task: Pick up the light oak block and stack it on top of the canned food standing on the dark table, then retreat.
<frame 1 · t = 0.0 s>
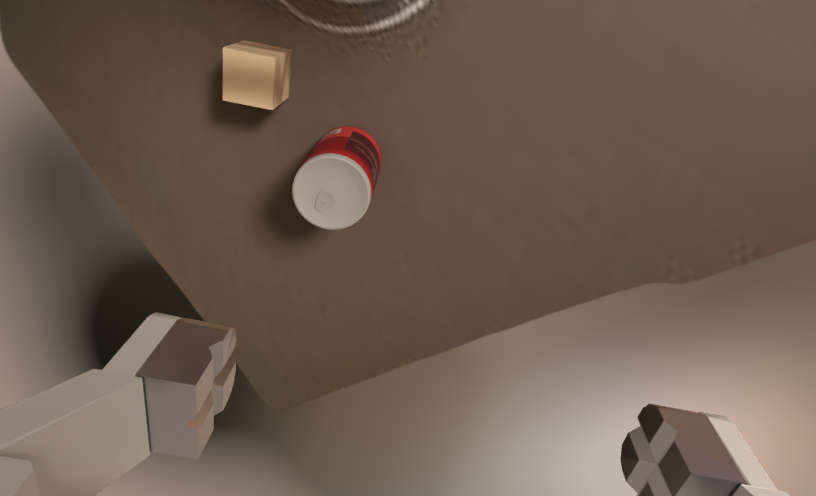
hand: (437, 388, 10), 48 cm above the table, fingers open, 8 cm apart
oak block: (267, 69, 54), on the table
canned food: (349, 157, 58), on the table
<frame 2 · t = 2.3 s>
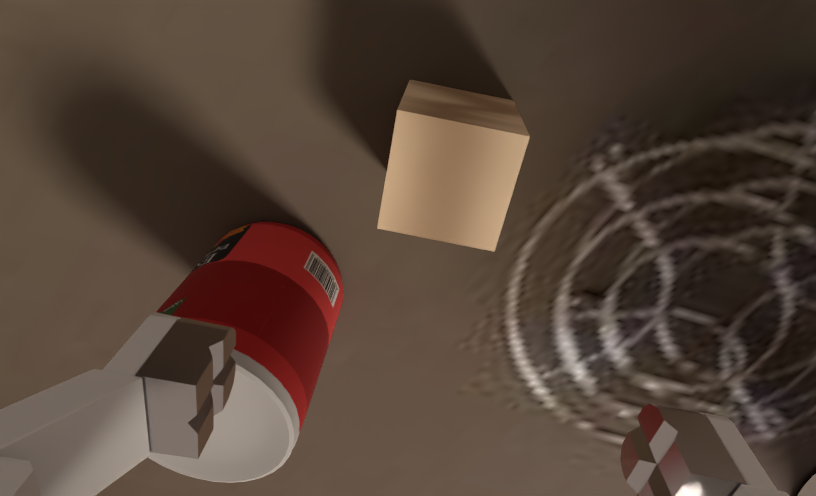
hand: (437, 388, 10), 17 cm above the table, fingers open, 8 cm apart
oak block: (450, 140, 25), on the table
canned food: (281, 274, 30), on the table
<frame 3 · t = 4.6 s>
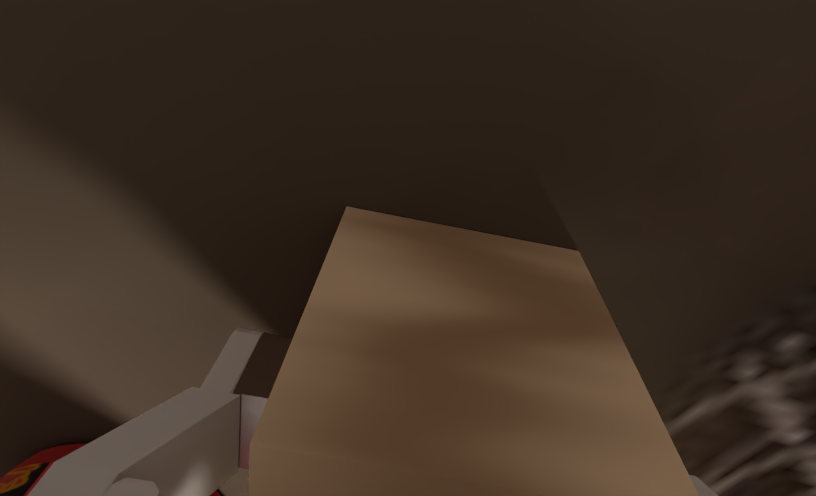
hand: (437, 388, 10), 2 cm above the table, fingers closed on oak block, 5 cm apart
oak block: (438, 321, 12), on the table, touching gripper
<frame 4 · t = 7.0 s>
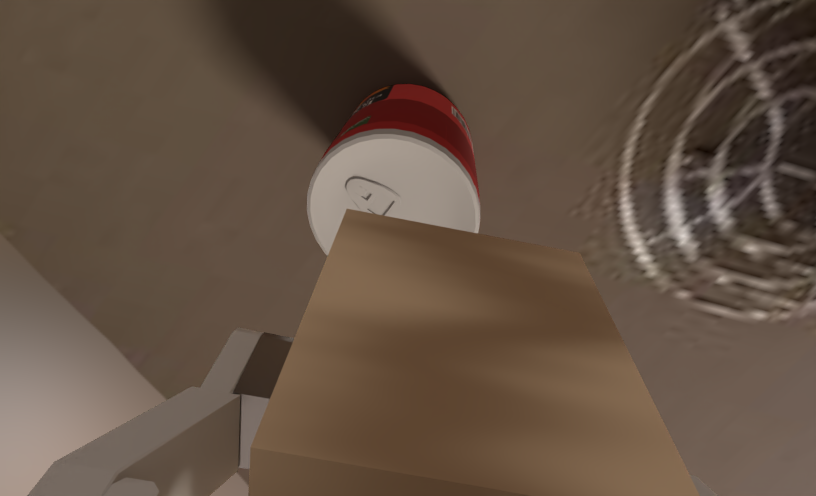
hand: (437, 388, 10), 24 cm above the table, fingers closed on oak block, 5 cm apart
oak block: (439, 324, 12), point 22 cm above the table, touching gripper
canned food: (410, 142, 32), on the table
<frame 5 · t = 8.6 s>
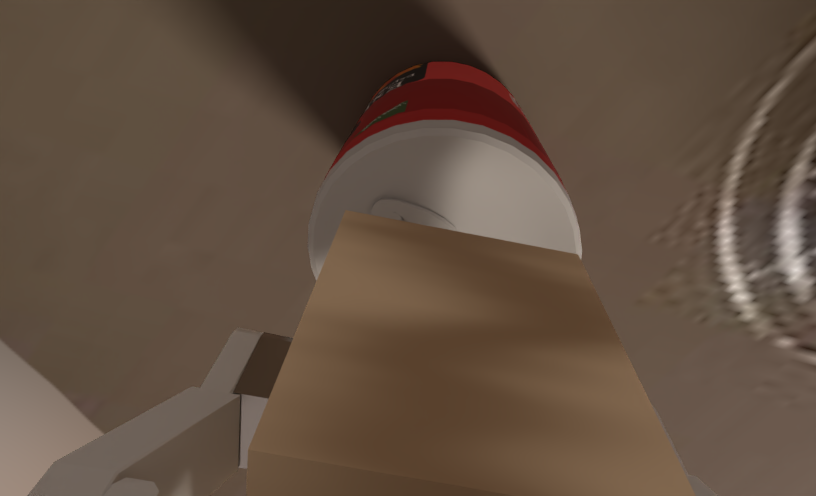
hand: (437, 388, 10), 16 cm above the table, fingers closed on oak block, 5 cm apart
oak block: (437, 325, 12), point 14 cm above the table, touching gripper
canned food: (444, 142, 24), on the table
when the fingers open (15 cm above the table, at t = 9.7 s): oak block drops 2 cm, resting on canned food.
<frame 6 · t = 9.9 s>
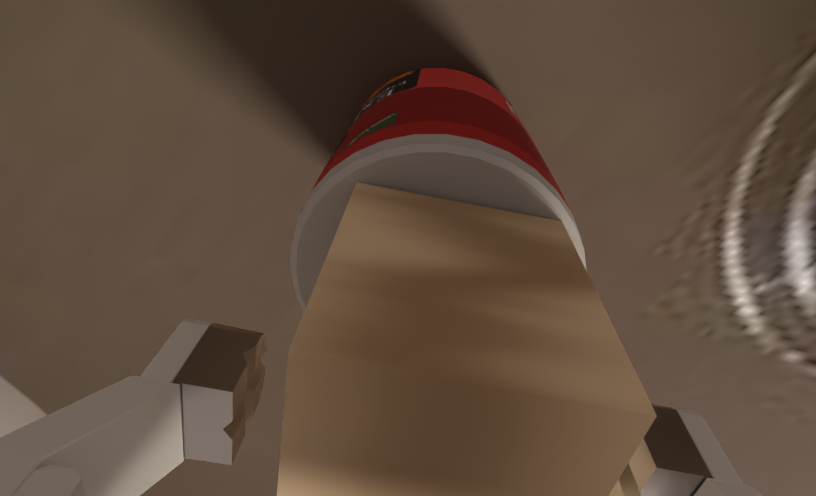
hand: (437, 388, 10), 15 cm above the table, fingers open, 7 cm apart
oak block: (438, 287, 13), point 11 cm above the table, touching canned food
canned food: (438, 152, 23), on the table, touching oak block
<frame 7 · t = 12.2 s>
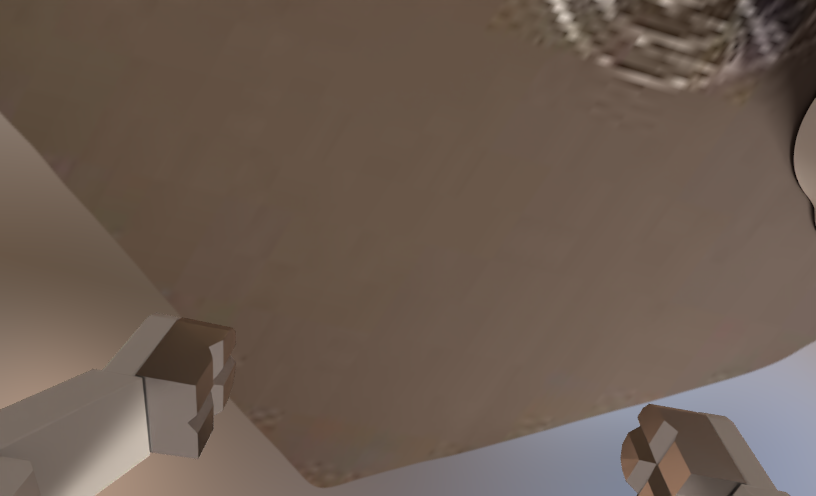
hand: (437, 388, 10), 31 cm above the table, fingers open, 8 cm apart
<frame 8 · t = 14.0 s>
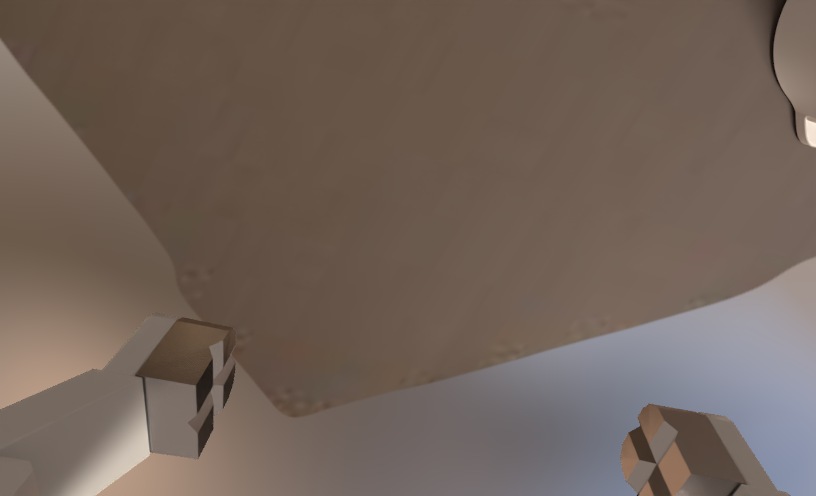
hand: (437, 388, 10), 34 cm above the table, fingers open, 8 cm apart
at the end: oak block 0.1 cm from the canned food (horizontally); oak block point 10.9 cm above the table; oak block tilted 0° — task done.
